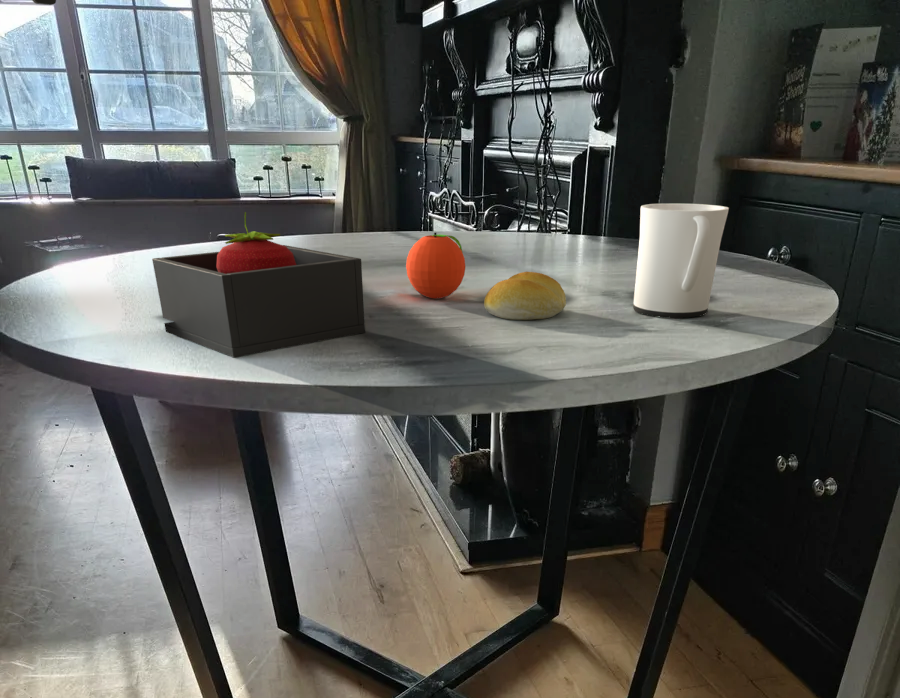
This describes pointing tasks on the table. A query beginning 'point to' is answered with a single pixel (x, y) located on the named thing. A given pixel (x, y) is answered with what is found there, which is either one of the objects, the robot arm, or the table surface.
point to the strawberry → (253, 253)
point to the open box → (261, 301)
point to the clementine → (436, 265)
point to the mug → (677, 258)
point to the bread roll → (526, 297)
